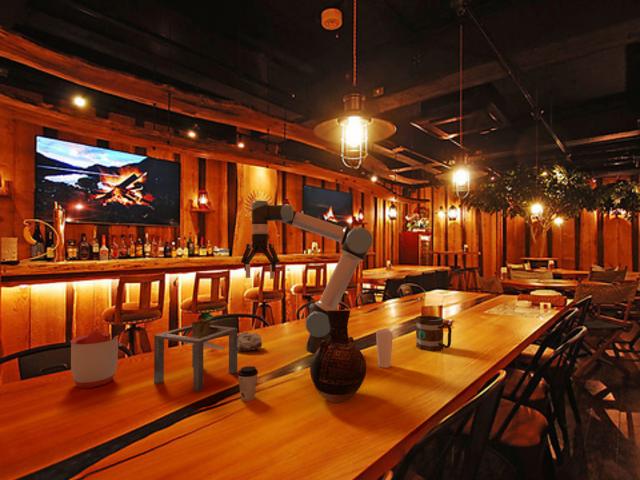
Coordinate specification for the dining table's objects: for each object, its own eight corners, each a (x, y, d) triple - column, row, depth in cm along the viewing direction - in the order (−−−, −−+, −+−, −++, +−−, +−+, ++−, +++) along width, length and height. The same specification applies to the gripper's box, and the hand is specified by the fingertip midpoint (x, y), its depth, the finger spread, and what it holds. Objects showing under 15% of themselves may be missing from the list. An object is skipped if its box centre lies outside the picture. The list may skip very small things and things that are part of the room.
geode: (248, 365, 167) (268, 351, 180) (251, 349, 164) (271, 336, 177) (223, 348, 175) (244, 336, 188) (226, 332, 172) (247, 321, 185)
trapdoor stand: (237, 371, 144) (237, 328, 144) (198, 392, 124) (198, 341, 124) (196, 364, 153) (196, 323, 153) (154, 382, 133) (154, 335, 133)
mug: (410, 346, 180) (410, 317, 180) (428, 342, 187) (428, 314, 187) (441, 356, 163) (441, 324, 163) (460, 351, 170) (459, 321, 170)
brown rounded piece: (213, 340, 146) (214, 320, 147) (202, 343, 139) (203, 323, 140) (198, 339, 149) (199, 320, 149) (187, 342, 142) (188, 322, 142)
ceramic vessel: (333, 416, 105) (333, 317, 106) (298, 398, 119) (298, 309, 119) (378, 396, 119) (377, 309, 120) (342, 382, 132) (341, 303, 133)
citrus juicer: (131, 378, 137) (131, 327, 138) (83, 394, 122) (83, 337, 123) (109, 371, 145) (109, 323, 146) (61, 385, 130) (62, 331, 131)
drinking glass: (394, 364, 152) (393, 330, 152) (390, 369, 145) (390, 333, 146) (378, 362, 154) (378, 328, 155) (374, 367, 148) (374, 332, 149)
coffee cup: (240, 404, 114) (240, 373, 114) (235, 396, 120) (235, 367, 120) (260, 400, 117) (260, 370, 117) (254, 392, 123) (254, 364, 123)
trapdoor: (196, 341, 127) (197, 337, 128) (164, 336, 134) (165, 333, 134) (223, 349, 141) (224, 346, 141) (193, 345, 147) (194, 342, 148)
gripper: (233, 233, 167) (233, 278, 166) (278, 232, 157) (278, 279, 156) (243, 234, 174) (243, 276, 173) (286, 233, 164) (286, 278, 163)
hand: (259, 278), depth 165 cm, fingers open, 13 cm apart
